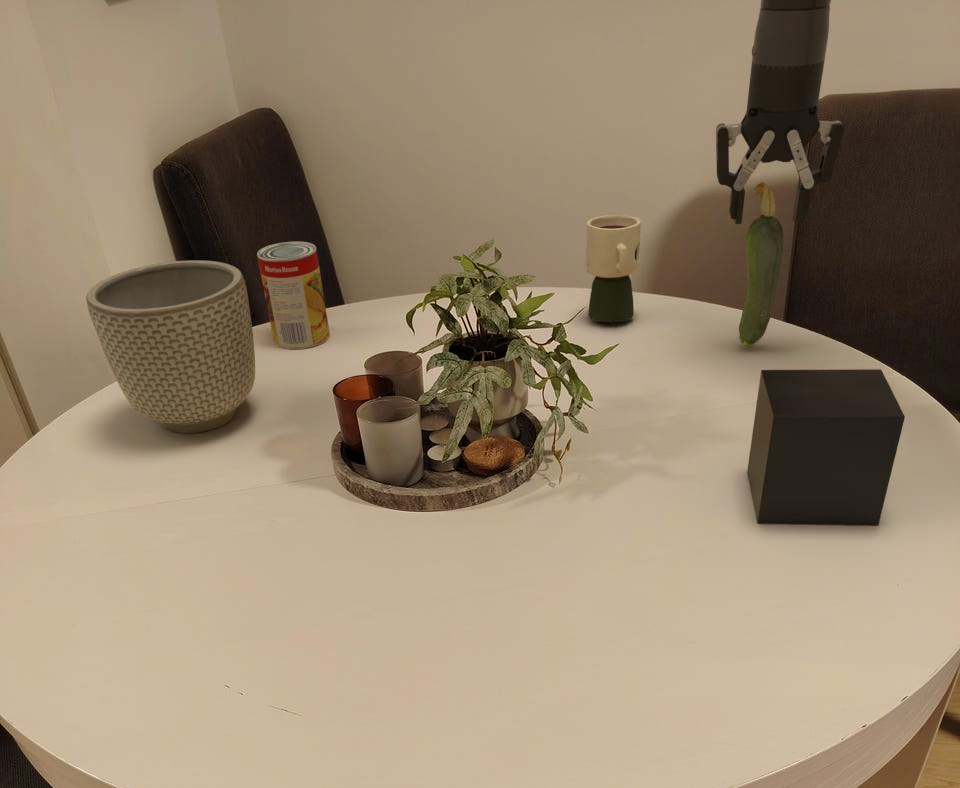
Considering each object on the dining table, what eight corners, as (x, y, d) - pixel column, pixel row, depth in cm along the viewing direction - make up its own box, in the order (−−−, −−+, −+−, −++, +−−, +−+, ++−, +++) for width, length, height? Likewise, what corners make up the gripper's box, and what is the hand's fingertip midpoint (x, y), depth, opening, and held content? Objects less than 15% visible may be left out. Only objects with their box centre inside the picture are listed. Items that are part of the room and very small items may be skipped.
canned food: (331, 326, 136) (318, 239, 129) (328, 347, 130) (313, 257, 123) (277, 330, 136) (260, 243, 129) (271, 351, 130) (253, 261, 123)
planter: (109, 413, 117) (66, 282, 107) (239, 376, 124) (210, 249, 114) (153, 466, 105) (110, 324, 95) (294, 421, 112) (268, 285, 102)
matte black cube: (855, 464, 97) (877, 361, 90) (878, 525, 88) (905, 416, 81) (745, 463, 99) (759, 362, 92) (757, 523, 90) (773, 416, 83)
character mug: (647, 330, 128) (652, 230, 120) (595, 336, 128) (598, 236, 120) (624, 303, 137) (628, 208, 129) (576, 309, 136) (577, 213, 128)
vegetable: (770, 344, 122) (794, 177, 110) (766, 357, 119) (790, 187, 107) (735, 342, 124) (755, 176, 111) (730, 354, 121) (750, 185, 108)
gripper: (722, 65, 99) (707, 232, 110) (865, 59, 97) (835, 230, 108) (717, 54, 105) (703, 214, 116) (851, 48, 103) (825, 211, 114)
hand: (767, 221), depth 112 cm, fingers open, 6 cm apart
